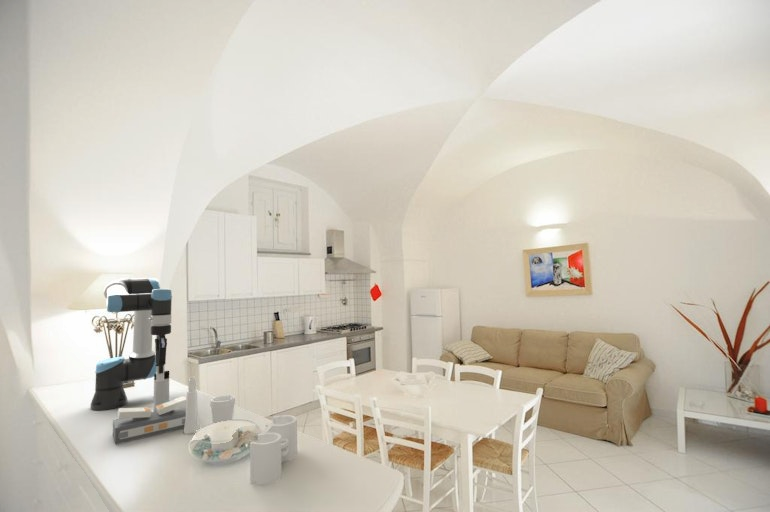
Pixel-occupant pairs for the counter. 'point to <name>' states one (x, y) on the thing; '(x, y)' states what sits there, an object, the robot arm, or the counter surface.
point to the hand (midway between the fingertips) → (160, 380)
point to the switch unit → (148, 425)
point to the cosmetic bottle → (191, 408)
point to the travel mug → (161, 390)
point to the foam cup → (222, 408)
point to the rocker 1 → (134, 412)
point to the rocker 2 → (171, 405)
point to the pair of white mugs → (273, 450)
